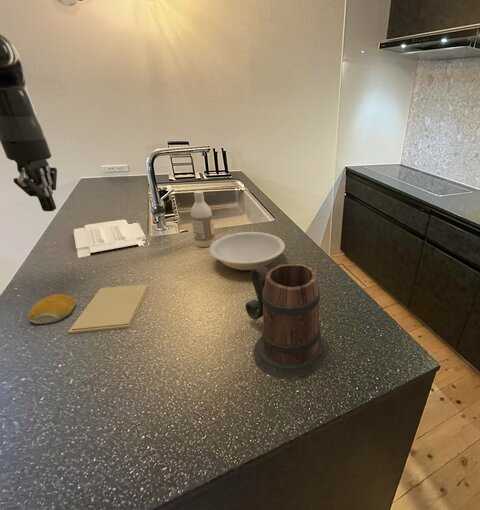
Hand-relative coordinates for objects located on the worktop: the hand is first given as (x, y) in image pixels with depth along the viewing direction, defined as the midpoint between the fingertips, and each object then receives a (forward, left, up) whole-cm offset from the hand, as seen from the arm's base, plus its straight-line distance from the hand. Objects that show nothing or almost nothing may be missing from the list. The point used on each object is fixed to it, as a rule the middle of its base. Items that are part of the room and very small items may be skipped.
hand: (50, 210), depth 76 cm
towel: (+13, -13, -22) cm, 29 cm away
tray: (-3, +34, -22) cm, 41 cm away
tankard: (+54, -33, -22) cm, 67 cm away
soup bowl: (+47, +7, -22) cm, 52 cm away
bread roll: (+1, -13, -22) cm, 26 cm away
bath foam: (+31, +24, -22) cm, 45 cm away
